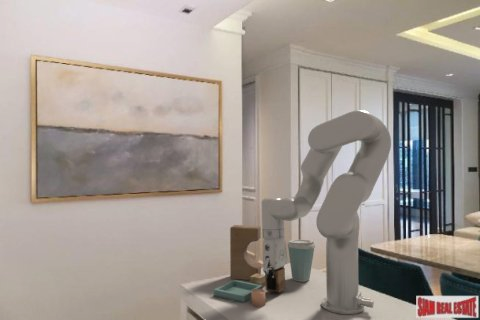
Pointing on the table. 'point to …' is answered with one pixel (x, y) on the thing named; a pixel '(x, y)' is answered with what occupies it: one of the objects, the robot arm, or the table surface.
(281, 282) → the walnut block
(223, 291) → the tray
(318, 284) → the table surface
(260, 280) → the oak cube
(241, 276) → the decorative block
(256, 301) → the peach round blob
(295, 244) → the disposable coffee cup
